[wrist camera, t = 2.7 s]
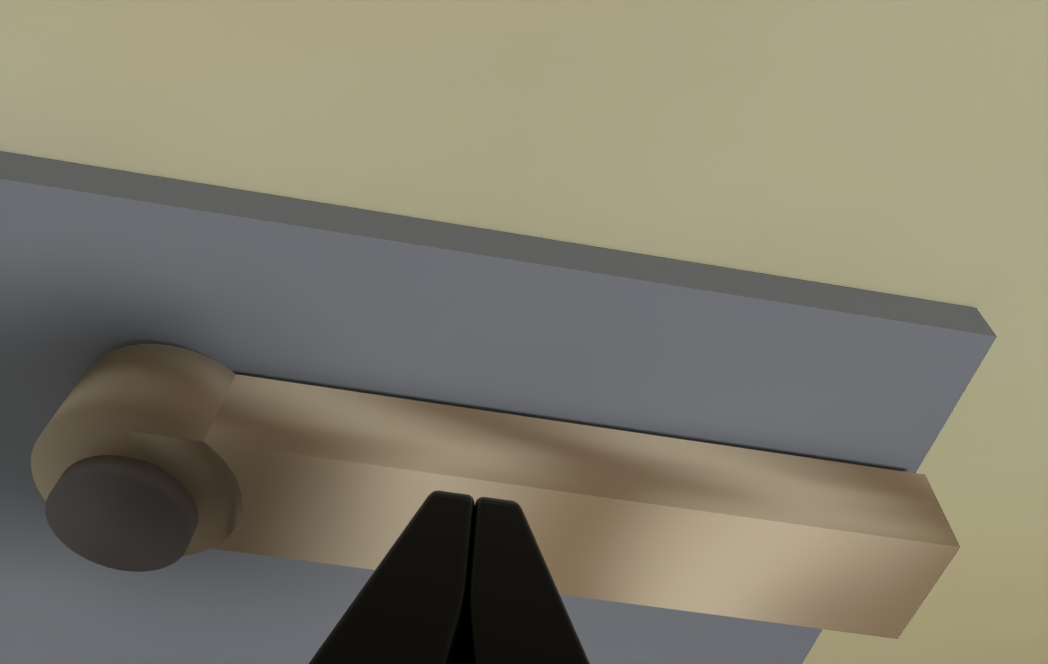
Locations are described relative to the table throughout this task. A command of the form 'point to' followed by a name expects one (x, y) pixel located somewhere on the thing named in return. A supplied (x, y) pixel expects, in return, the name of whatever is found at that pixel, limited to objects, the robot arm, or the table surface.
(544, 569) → the robot arm
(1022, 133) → the table surface
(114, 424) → the link
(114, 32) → the table surface
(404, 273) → the pivot board
